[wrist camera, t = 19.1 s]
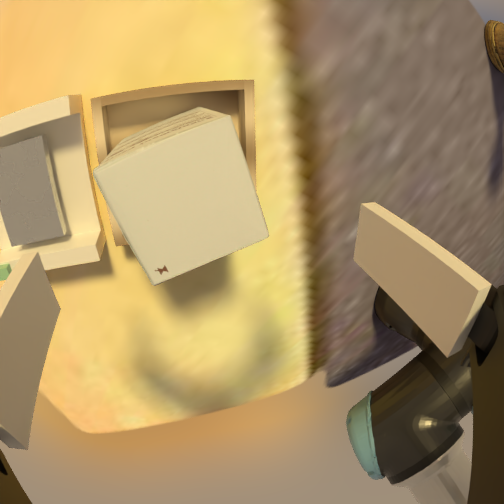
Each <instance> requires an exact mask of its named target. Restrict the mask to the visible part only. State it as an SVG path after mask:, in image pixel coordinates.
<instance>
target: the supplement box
mask: <svg viewBox="0 0 504 504" xmlns="http://www.w3.org/2000/svg"><path fill="white" fill-rule="evenodd" d="M93 176H94V179H95V181H96V183H97V185H98V187H99V189H100V191H101V193H102V195H103V197H104V199H105V201H106V203H107V205H108V206H109V208H110V210H111V212H112V214H113V216H114V218H115V220H116V222H117V224H118V225H119V227H120V230H121V232H122V234H123V236H124V238H125V239H126V241H127V242H128V244H129V246H130V247H131V249H132V251H133V253H134V254H135V256H136V258H137V260H138V261H139V263H140V265H141V266H142V268H143V270H144V272H145V273H146V275H147V277H148V278H149V280H150V282H151V284H152V285H154V286H155V285H158V284H160V283H162V282H164V281H166V280H169V279H171V278H174V277H176V276H178V275H181V274H183V273H186V272H188V271H190V270H193V269H195V268H197V267H200V266H202V265H205V264H207V263H209V262H212V261H214V260H216V259H219V258H221V257H224V256H226V255H228V254H231V253H233V252H235V251H238V250H240V249H242V248H245V247H247V246H250V245H252V244H255V243H257V242H259V241H261V240H263V239H266V238H267V237H268V236H269V233H268V229H267V226H266V222H265V219H264V215H263V212H262V209H261V206H260V202H259V199H258V196H257V193H256V190H255V186H254V183H253V180H252V177H251V174H250V171H249V168H248V165H247V162H246V159H245V156H244V153H243V150H242V147H241V144H240V141H239V138H238V135H237V132H236V129H235V127H234V124H233V121H232V118H231V116H230V115H227V114H223V113H220V112H216V111H213V110H209V109H206V108H202V107H197V108H194V109H191V110H189V111H186V112H184V113H181V114H179V115H176V116H173V117H171V118H168V119H166V120H164V121H161V122H159V123H157V124H154V125H152V126H150V127H147V128H145V129H143V130H141V131H139V132H137V133H134V134H132V135H130V136H128V137H126V138H124V139H123V140H122V141H121V142H120V143H119V144H118V145H117V146H116V147H115V148H114V149H113V150H112V151H111V152H110V153H109V155H108V156H107V157H106V158H105V159H104V160H103V161H102V162H101V164H100V165H98V166H97V167H96V168H95V169H94V170H93Z"/></svg>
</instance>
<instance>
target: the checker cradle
mask: <svg viewBox="0 0 504 504" xmlns="http://www.w3.org/2000/svg"><path fill="white" fill-rule="evenodd" d="M43 134H46V137H47V144H48V150H49V156H50V161H51V166H52V172H53V177H54V181H55V186H56V190H57V195H58V199H59V203H60V207H61V211H62V215H63V219H64V223H65V226H66V230H67V231H66V233H65V235H64V236H60V237H55V238H50V239H46V240H41V241H36V242H32V243H27V244H23V245H18V246H14V247H12V246H11V243H10V240H9V237H8V234H7V231H6V228H5V225H4V222H3V219H2V215H1V212H0V248H1V251H0V281H2V280H6V279H7V278H8V276H9V274H10V273H11V271H12V270H13V268H14V267H15V265H16V264H17V262H18V261H19V259H20V258H21V256H22V255H23V254H27V253H32V252H37V251H38V253H39V256H40V258H41V261H42V264H43V267H44V269H45V270H50V269H55V268H61V267H66V266H72V265H78V264H84V263H89V262H95V261H100V259H101V256H102V252H103V249H104V245H105V242H106V238H105V234H104V230H103V226H102V222H101V217H100V213H99V208H98V204H97V199H96V194H95V189H94V184H93V179H92V173H91V168H90V162H89V156H88V149H87V142H86V135H85V127H84V119H83V110H82V99H81V95H67V96H63V97H60V98H56V99H53V100H50V101H46V102H43V103H40V104H37V105H34V106H31V107H28V108H25V109H22V110H19V111H16V112H14V113H11V114H8V115H6V116H3V117H1V118H0V148H3V147H6V146H8V145H11V144H14V143H17V142H20V141H23V140H26V139H30V138H33V137H36V136H39V135H43Z"/></svg>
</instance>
